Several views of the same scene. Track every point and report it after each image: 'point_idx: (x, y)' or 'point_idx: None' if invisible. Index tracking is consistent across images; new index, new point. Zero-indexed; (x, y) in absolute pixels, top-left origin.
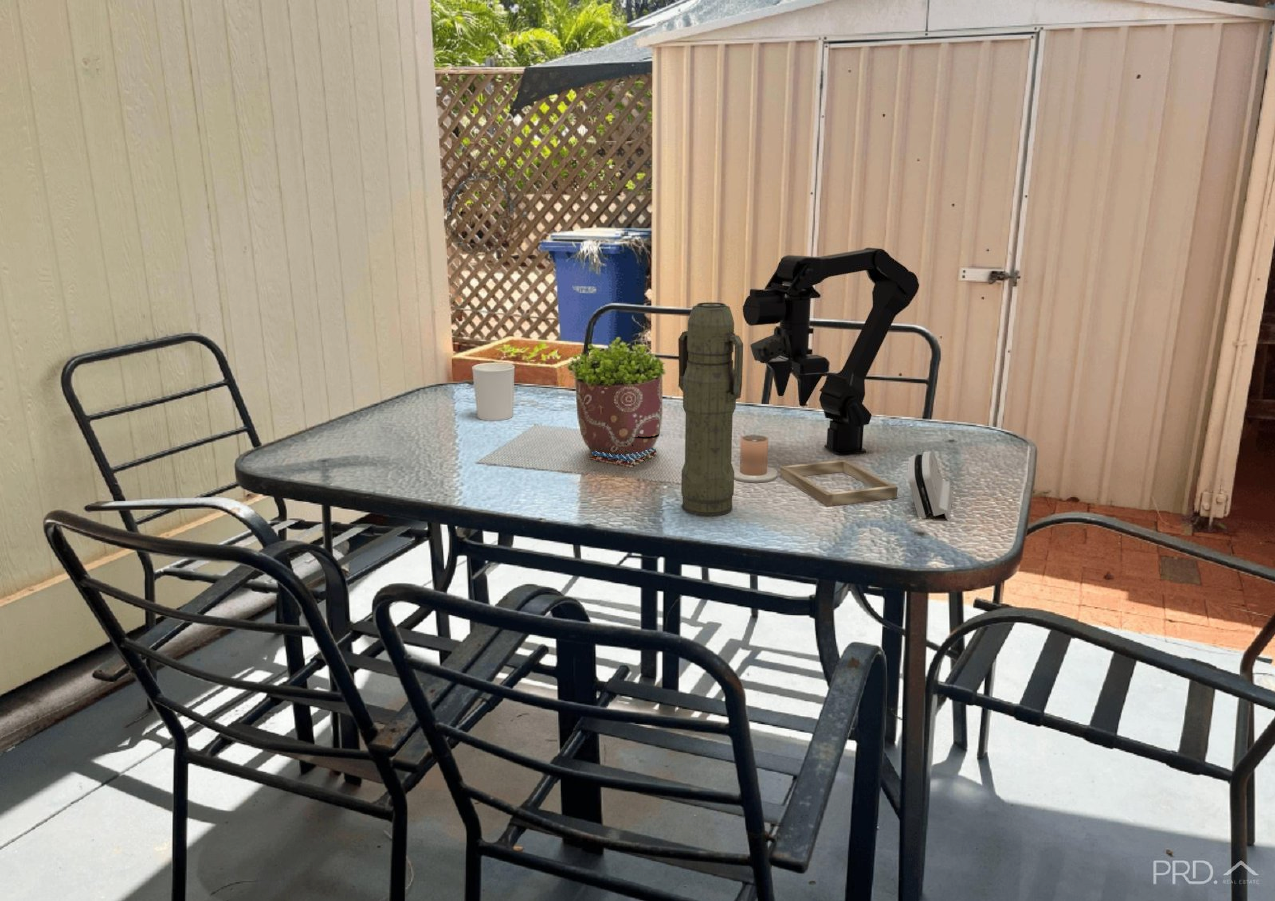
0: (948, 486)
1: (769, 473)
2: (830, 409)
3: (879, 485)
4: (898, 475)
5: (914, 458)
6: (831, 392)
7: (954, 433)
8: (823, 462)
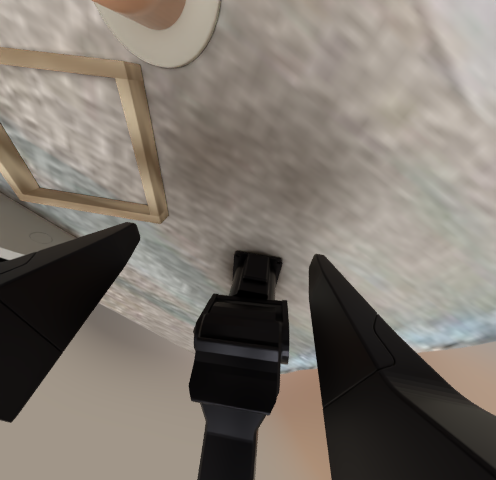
0: None
1: (127, 22)
2: (241, 308)
3: (55, 195)
4: (136, 252)
5: None
6: (230, 347)
7: None
8: (149, 182)
